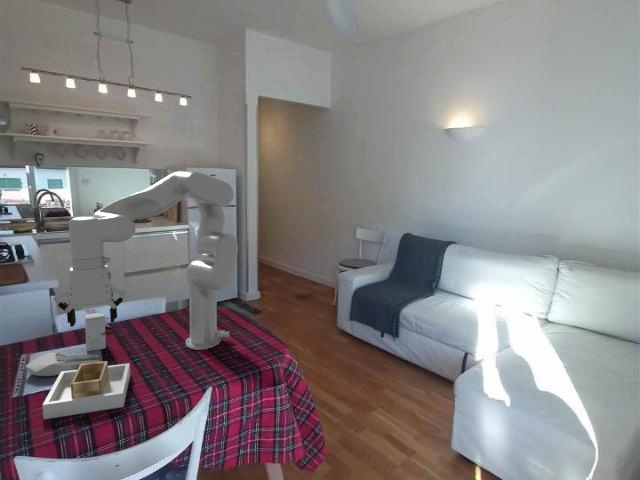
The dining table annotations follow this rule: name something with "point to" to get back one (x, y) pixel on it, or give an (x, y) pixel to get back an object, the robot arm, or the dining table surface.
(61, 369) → the turret
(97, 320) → the skincare box
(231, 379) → the dining table surface
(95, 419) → the dining table surface
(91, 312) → the water lily
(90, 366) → the pine crate
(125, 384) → the white tray
